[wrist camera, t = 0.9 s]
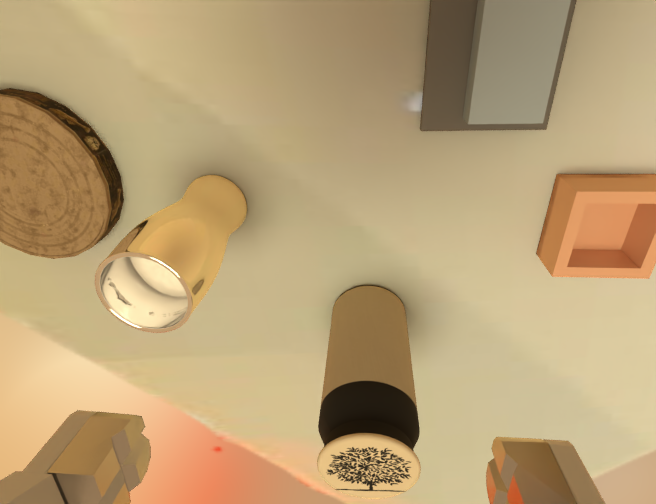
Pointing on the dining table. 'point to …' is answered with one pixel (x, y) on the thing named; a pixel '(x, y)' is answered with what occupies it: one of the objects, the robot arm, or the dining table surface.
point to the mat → (462, 68)
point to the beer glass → (171, 257)
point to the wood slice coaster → (53, 178)
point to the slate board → (513, 60)
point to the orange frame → (600, 226)
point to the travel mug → (369, 398)
